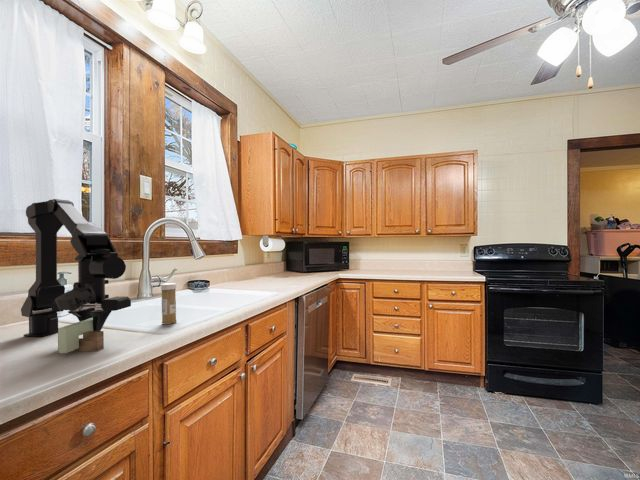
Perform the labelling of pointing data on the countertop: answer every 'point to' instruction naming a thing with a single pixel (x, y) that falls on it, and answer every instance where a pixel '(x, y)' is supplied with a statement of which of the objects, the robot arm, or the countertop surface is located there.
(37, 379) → the countertop surface
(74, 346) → the green board
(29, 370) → the countertop surface
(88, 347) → the walnut rail
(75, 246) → the robot arm
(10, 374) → the countertop surface
